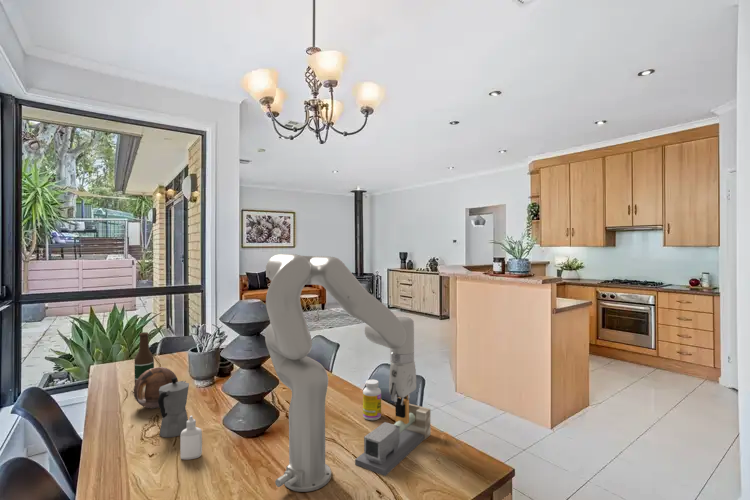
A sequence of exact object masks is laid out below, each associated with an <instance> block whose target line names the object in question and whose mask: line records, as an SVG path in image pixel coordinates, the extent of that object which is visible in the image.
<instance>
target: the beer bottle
mask: <svg viewBox="0 0 750 500" xmlns="http://www.w3.org/2000/svg"><path fill="white" fill-rule="evenodd" d="M138 336H139V346H138V352H137V353H136V354H135V357H134V361H133V362H134V366H133V367H134V384H135V383H136V381H137V379H138V378H139V377H140V376H141V375H142V374H143V373H144V372H145V371H147V370H149V369H152V368H155V359H154V355H153V352H151V350H150V345H149V332H145V331H144V332H140V333H139V335H138Z"/></svg>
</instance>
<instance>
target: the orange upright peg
mask: <svg viewBox="0 0 750 500" xmlns="http://www.w3.org/2000/svg"><path fill="white" fill-rule="evenodd" d="M398 398H400V399H401V397H398ZM394 404H395V403H394ZM409 404H410V400H407V399H404V405H405V417H404V418H402V417H398V416H396V404H395V414H394V415H395V423H394V424H393V425H397V426H400V433H401V432H403V431H404V430H405V429H406V428H408V427H409V426H410V425H411V424H412V423H414V422H415V420H416V418H415V415H414V414H413V413H409ZM396 421H397V422H396Z"/></svg>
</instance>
